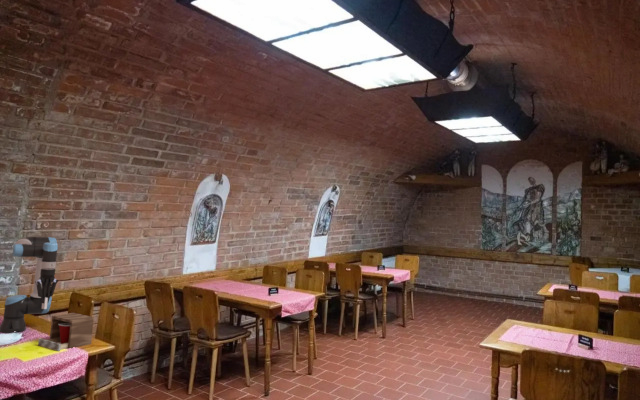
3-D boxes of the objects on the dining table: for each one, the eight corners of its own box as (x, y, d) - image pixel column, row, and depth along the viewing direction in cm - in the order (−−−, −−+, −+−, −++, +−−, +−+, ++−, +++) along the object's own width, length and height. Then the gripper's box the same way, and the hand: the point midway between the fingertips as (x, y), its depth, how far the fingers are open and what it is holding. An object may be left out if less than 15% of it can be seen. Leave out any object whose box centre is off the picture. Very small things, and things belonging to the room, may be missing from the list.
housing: (49, 343, 283) (52, 315, 284) (71, 339, 296) (73, 312, 297) (69, 349, 274) (72, 320, 275) (91, 344, 287) (93, 317, 288)
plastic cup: (80, 341, 287) (82, 322, 287) (67, 345, 276) (69, 325, 277) (64, 339, 288) (66, 320, 289) (52, 343, 278) (54, 324, 279)
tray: (38, 345, 276) (38, 338, 277) (68, 339, 294) (68, 332, 294) (58, 351, 268) (59, 344, 268) (88, 344, 285) (88, 338, 285)
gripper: (41, 269, 263) (36, 311, 262) (62, 268, 275) (58, 308, 273) (33, 268, 266) (29, 309, 265) (54, 267, 278) (50, 306, 277)
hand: (44, 308), depth 269 cm, fingers closed
